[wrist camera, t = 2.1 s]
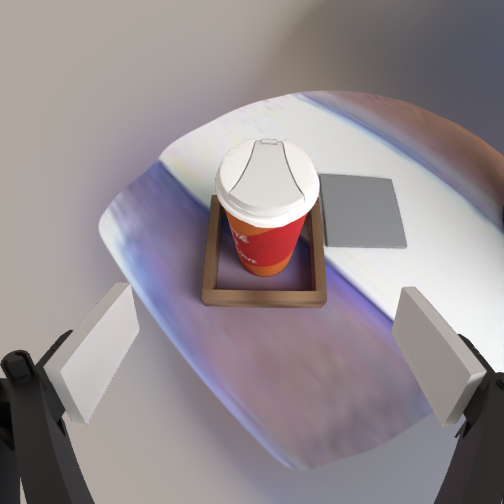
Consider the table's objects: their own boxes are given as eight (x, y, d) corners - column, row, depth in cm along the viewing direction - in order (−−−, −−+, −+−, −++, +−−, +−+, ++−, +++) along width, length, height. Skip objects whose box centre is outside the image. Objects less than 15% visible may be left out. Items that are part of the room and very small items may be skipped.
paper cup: (232, 221, 35) (220, 131, 23) (299, 224, 35) (318, 135, 22) (226, 285, 32) (204, 215, 19) (299, 289, 32) (326, 220, 19)
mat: (389, 181, 38) (391, 179, 37) (405, 248, 33) (407, 246, 33) (319, 176, 38) (320, 173, 37) (327, 246, 34) (328, 244, 33)
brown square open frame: (315, 208, 36) (318, 196, 33) (321, 307, 31) (326, 301, 28) (214, 207, 36) (211, 195, 34) (205, 305, 31) (201, 299, 29)
